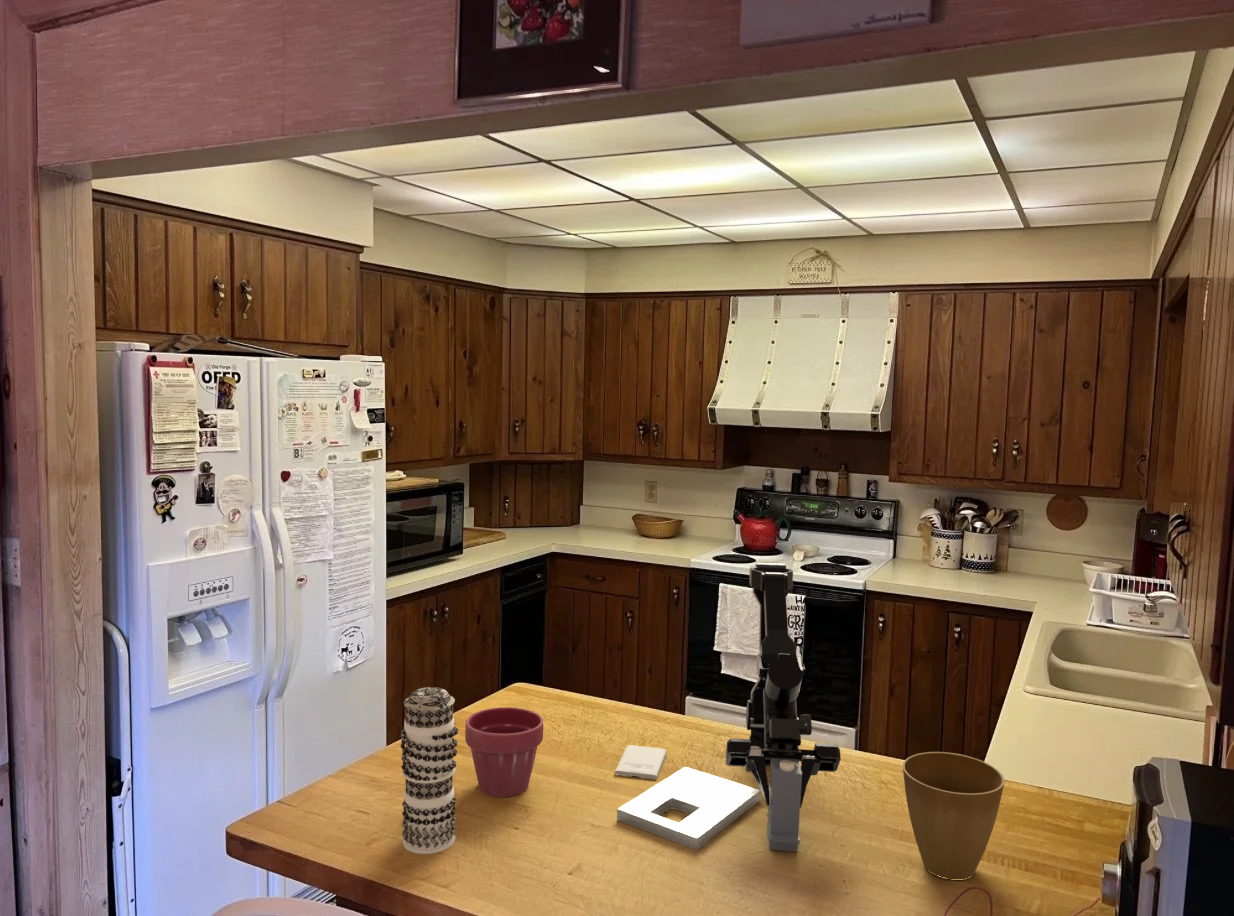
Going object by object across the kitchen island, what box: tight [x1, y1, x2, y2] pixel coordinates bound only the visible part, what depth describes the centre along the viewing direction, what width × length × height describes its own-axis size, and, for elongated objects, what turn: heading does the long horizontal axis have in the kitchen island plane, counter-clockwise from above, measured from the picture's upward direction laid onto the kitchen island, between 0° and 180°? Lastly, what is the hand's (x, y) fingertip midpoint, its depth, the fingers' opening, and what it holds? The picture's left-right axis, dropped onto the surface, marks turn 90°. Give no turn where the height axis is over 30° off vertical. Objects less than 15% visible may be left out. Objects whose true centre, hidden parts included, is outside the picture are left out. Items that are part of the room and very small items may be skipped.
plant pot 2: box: [902, 751, 1005, 879], centre depth 143 cm, size 15×15×16 cm
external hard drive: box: [614, 744, 668, 780], centre depth 180 cm, size 2×8×12 cm
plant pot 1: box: [464, 706, 544, 798], centre depth 168 cm, size 14×14×13 cm
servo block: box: [766, 758, 802, 852], centre depth 150 cm, size 9×4×14 cm, turn 175°
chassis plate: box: [616, 766, 761, 851], centre depth 161 cm, size 22×16×2 cm
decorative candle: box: [399, 686, 459, 855], centre depth 148 cm, size 9×9×25 cm
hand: (784, 805), depth 149 cm, fingers closed on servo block, 5 cm apart
